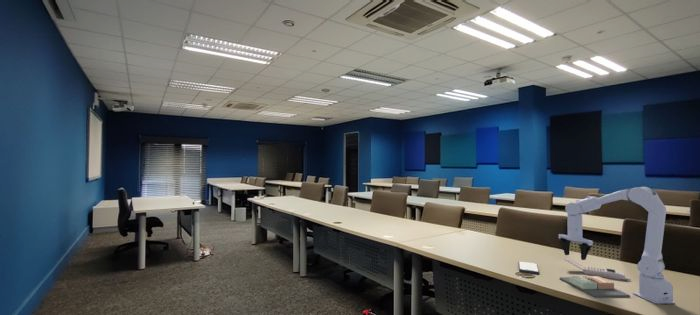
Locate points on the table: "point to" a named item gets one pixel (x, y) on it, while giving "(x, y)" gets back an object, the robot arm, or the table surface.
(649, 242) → the robot arm
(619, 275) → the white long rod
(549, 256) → the table surface
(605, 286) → the pink block
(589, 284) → the pale green rectangular block
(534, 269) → the phone case
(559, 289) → the table surface
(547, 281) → the table surface
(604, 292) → the mat
